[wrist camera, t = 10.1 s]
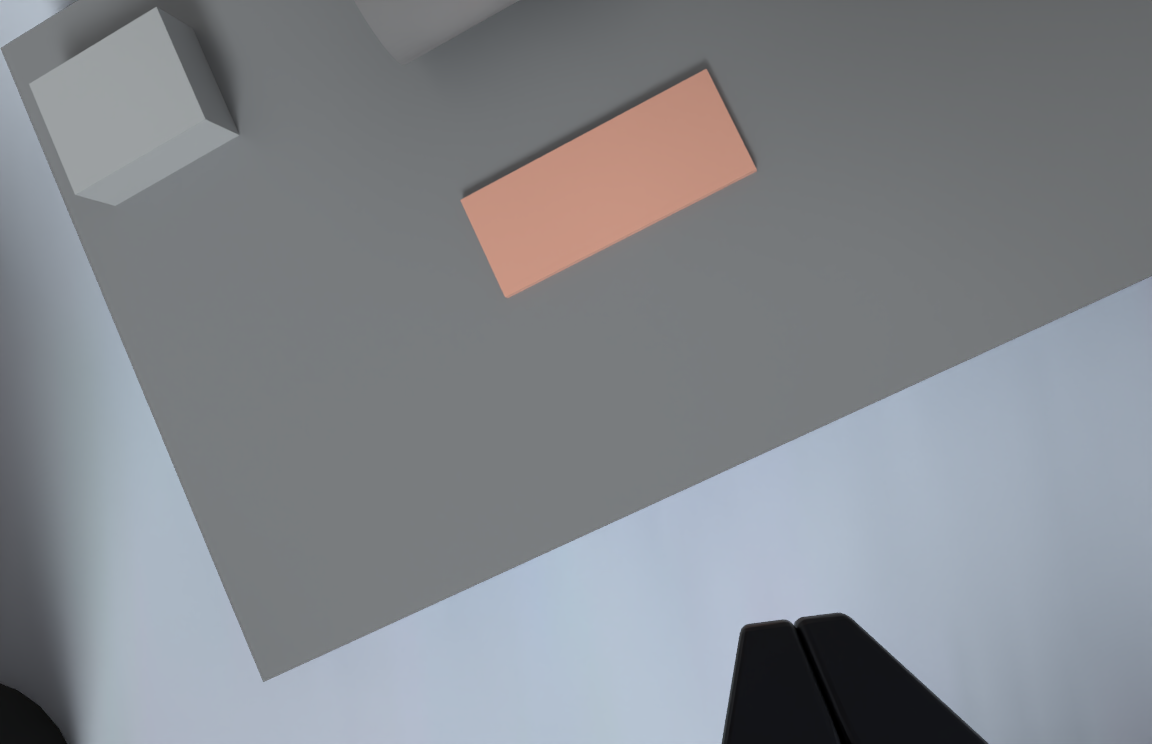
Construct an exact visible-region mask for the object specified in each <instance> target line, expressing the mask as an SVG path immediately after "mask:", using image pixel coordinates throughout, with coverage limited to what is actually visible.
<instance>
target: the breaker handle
mask: <svg viewBox="0 0 1152 744" xmlns="http://www.w3.org/2000/svg"><path fill="white" fill-rule="evenodd" d="M354 1H355V3H356V5H357V7H358V8H359V10H360V12H361V13H362V15H363V17H364V18H365V20H366V21H367V23H368V25H369V26H370V28H371V29H372V31H373V32H374V34H375V35H376V36H377V38H378V39H379V41H380V42H381V43H382V45H383V46H384V47H385V48H386V50H387V51H388V52H389V53H390V54H391V55H392V56H393V57H394V58H395V59H396V60H397V61H398V62H399V63H401V64H403V65H406V64H408V63H410V62H411V61H413V60H415V59H417V58H418V57H420V56H422V55H424V54H425V53H427V52H429V51H431V50H433V49H434V48H436V47H438V46H440V45H441V44H443V43H445V42H447V41H448V40H450V39H452V38H454V37H456V36H457V35H459V34H461V33H463V32H464V31H466V30H468V29H470V28H471V27H473V26H475V25H477V24H478V23H480V22H482V21H484V20H486V19H487V18H489V17H491V16H493V15H494V14H496V13H498V12H500V11H501V10H503V9H505V8H507V7H508V6H510V5H512V4H514V3H516V2H517V1H519V0H354Z"/></svg>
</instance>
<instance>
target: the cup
mask: <svg viewBox="0 0 1152 744" xmlns="http://www.w3.org/2000/svg"><path fill="white" fill-rule="evenodd" d="M0 744H67V743H66V741H65V740H64V738H63V736H62V734H61V732H60V730H59V728H58V727H57V726H56V725H55V724H54V723H53V721H52V720H51V719H50V718H49V717H48V716H47V714H46V713H45V712H44V711H43V710H42V709H41V707H40V706H38V705H37V704H35V703H34V702H33V701H31V700H30V699H28V698H27V697H26V696H24V695H23V694H22V693H20V692H19V691H17V690H15V689H12V688H10V687H7V686H5V685H2V684H0Z"/></svg>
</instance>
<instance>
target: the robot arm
mask: <svg viewBox="0 0 1152 744" xmlns="http://www.w3.org/2000/svg"><path fill="white" fill-rule="evenodd" d="M722 744H988V743H987V742H986V741H985V740H984V739H983V738H982V737H981V736H980V735H979V734H977V733H976V732H975V731H974V730H973V729H972V728H971V727H970V726H969V725H968V724H966V723H965V722H964V721H963V720H962V719H961V718H960V717H959V716H958V715H957V714H956V713H954V712H953V711H952V710H951V709H950V708H949V707H948V706H947V705H946V704H945V703H944V702H942V701H941V700H940V699H939V698H938V697H937V696H936V695H935V694H934V693H933V692H932V691H930V690H929V689H928V688H927V687H926V686H925V685H924V684H923V683H922V682H921V681H919V680H918V679H917V678H916V677H915V676H914V675H913V674H912V673H911V672H910V671H909V670H907V669H906V668H905V667H904V666H903V665H902V664H901V663H900V662H899V661H898V660H897V659H895V658H894V657H893V656H892V655H891V654H890V653H889V652H888V651H887V650H886V649H884V648H883V647H882V646H881V645H880V644H879V643H878V642H877V641H876V640H875V639H874V638H872V637H871V636H870V635H869V634H868V633H867V632H866V631H865V630H864V629H863V628H862V627H860V626H859V625H858V624H857V623H856V622H855V621H854V620H853V619H852V618H850V617H849V616H847V615H845V614H842V613H832V614H824V615H816V616H808V617H801V618H799V619H798V620H797V621H795V623H794V625H793V624H792V623H791V622H790V621H788V620H776V621H768V622H761V623H753V624H747V625H745V626H744V627H743V628H742V629H741V632H740V636H739V642H738V648H737V654H736V660H735V666H734V672H733V678H732V684H731V690H730V696H729V702H728V708H727V714H726V720H725V726H724V732H723V738H722Z"/></svg>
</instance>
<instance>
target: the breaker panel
mask: <svg viewBox="0 0 1152 744" xmlns="http://www.w3.org/2000/svg"><path fill="white" fill-rule="evenodd" d="M1 50H2V53H3V55H4V58H5V60H6V62H7V65H8V67H9V70H10V72H11V74H12V77H13V79H14V82H15V84H16V87H17V89H18V91H19V94H20V96H21V99H22V101H23V103H24V106H25V108H26V111H27V113H28V115H29V118H30V120H31V123H32V125H33V128H34V130H35V132H36V135H37V137H38V140H39V142H40V144H41V147H42V149H43V152H44V154H45V156H46V159H47V161H48V164H49V166H50V169H51V171H52V173H53V176H54V178H55V181H56V183H57V185H58V188H59V190H60V193H61V195H62V197H63V200H64V202H65V205H66V207H67V210H68V212H69V214H70V217H71V219H72V222H73V224H74V226H75V229H76V231H77V234H78V236H79V238H80V241H81V243H82V246H83V248H84V251H85V253H86V255H87V258H88V260H89V263H90V265H91V267H92V270H93V272H94V275H95V277H96V280H97V282H98V284H99V287H100V289H101V292H102V294H103V296H104V299H105V301H106V304H107V306H108V308H109V311H110V313H111V316H112V318H113V321H114V323H115V325H116V328H117V330H118V333H119V335H120V337H121V340H122V342H123V345H124V347H125V349H126V352H127V354H128V357H129V359H130V362H131V364H132V366H133V369H134V371H135V374H136V376H137V378H138V381H139V383H140V386H141V388H142V390H143V393H144V395H145V398H146V400H147V403H148V405H149V407H150V410H151V412H152V415H153V417H154V419H155V422H156V424H157V427H158V429H159V431H160V434H161V436H162V439H163V441H164V444H165V446H166V448H167V451H168V453H169V456H170V458H171V460H172V463H173V465H174V468H175V470H176V472H177V475H178V477H179V480H180V482H181V485H182V487H183V489H184V492H185V494H186V497H187V499H188V501H189V504H190V506H191V509H192V511H193V513H194V516H195V518H196V521H197V523H198V526H199V528H200V530H201V533H202V535H203V538H204V540H205V542H206V545H207V547H208V550H209V552H210V555H211V557H212V559H213V562H214V564H215V567H216V569H217V571H218V574H219V576H220V579H221V581H222V583H223V586H224V588H225V591H226V593H227V596H228V598H229V600H230V603H231V605H232V608H233V610H234V612H235V615H236V617H237V620H238V622H239V624H240V627H241V629H242V632H243V634H244V637H245V639H246V641H247V644H248V646H249V649H250V651H251V653H252V656H253V658H254V661H255V663H256V665H257V668H258V670H259V673H260V675H261V678H262V680H263V682H264V681H267V680H269V679H271V678H273V677H275V676H278V675H280V674H282V673H284V672H286V671H289V670H291V669H293V668H295V667H297V666H299V665H302V664H304V663H306V662H308V661H310V660H313V659H315V658H317V657H319V656H321V655H324V654H326V653H328V652H330V651H332V650H334V649H337V648H339V647H341V646H343V645H345V644H348V643H350V642H352V641H354V640H356V639H359V638H361V637H363V636H365V635H367V634H369V633H372V632H374V631H376V630H378V629H380V628H383V627H385V626H387V625H389V624H391V623H394V622H396V621H398V620H400V619H402V618H404V617H407V616H409V615H411V614H413V613H415V612H418V611H420V610H422V609H424V608H426V607H429V606H431V605H433V604H435V603H437V602H439V601H442V600H444V599H446V598H448V597H450V596H453V595H455V594H457V593H459V592H461V591H464V590H466V589H468V588H470V587H472V586H474V585H477V584H479V583H481V582H483V581H485V580H488V579H490V578H492V577H494V576H496V575H499V574H501V573H503V572H505V571H507V570H509V569H512V568H514V567H516V566H518V565H520V564H523V563H525V562H527V561H529V560H531V559H534V558H536V557H538V556H540V555H542V554H544V553H547V552H549V551H551V550H553V549H555V548H558V547H560V546H562V545H564V544H566V543H569V542H571V541H573V540H575V539H577V538H579V537H582V536H584V535H586V534H588V533H590V532H593V531H595V530H597V529H599V528H601V527H604V526H606V525H608V524H610V523H612V522H614V521H617V520H619V519H621V518H623V517H625V516H628V515H630V514H632V513H634V512H636V511H639V510H641V509H643V508H645V507H647V506H649V505H652V504H654V503H656V502H658V501H660V500H663V499H665V498H667V497H669V496H671V495H674V494H676V493H678V492H680V491H682V490H684V489H687V488H689V487H691V486H693V485H695V484H698V483H700V482H702V481H704V480H706V479H709V478H711V477H713V476H715V475H717V474H719V473H722V472H724V471H726V470H728V469H730V468H733V467H735V466H737V465H739V464H741V463H744V462H746V461H748V460H750V459H752V458H754V457H757V456H759V455H761V454H763V453H765V452H768V451H770V450H772V449H774V448H776V447H779V446H781V445H783V444H785V443H787V442H789V441H792V440H794V439H796V438H798V437H800V436H803V435H805V434H807V433H809V432H811V431H814V430H816V429H818V428H820V427H822V426H824V425H827V424H829V423H831V422H833V421H835V420H838V419H840V418H842V417H844V416H846V415H849V414H851V413H853V412H855V411H857V410H859V409H862V408H864V407H866V406H868V405H870V404H873V403H875V402H877V401H879V400H881V399H884V398H886V397H888V396H890V395H892V394H894V393H897V392H899V391H901V390H903V389H905V388H908V387H910V386H912V385H914V384H916V383H919V382H921V381H923V380H925V379H927V378H929V377H932V376H934V375H936V374H938V373H940V372H943V371H945V370H947V369H949V368H951V367H954V366H956V365H958V364H960V363H962V362H964V361H967V360H969V359H971V358H973V357H975V356H978V355H980V354H982V353H984V352H986V351H989V350H991V349H993V348H995V347H997V346H999V345H1002V344H1004V343H1006V342H1008V341H1010V340H1013V339H1015V338H1017V337H1019V336H1021V335H1024V334H1026V333H1028V332H1030V331H1032V330H1034V329H1037V328H1039V327H1041V326H1043V325H1045V324H1048V323H1050V322H1052V321H1054V320H1056V319H1059V318H1061V317H1063V316H1065V315H1067V314H1069V313H1072V312H1074V311H1076V310H1078V309H1080V308H1083V307H1085V306H1087V305H1089V304H1091V303H1094V302H1096V301H1098V300H1100V299H1102V298H1104V297H1107V296H1109V295H1111V294H1113V293H1115V292H1118V291H1120V290H1122V289H1124V288H1126V287H1129V286H1131V285H1133V284H1135V283H1137V282H1139V281H1142V280H1144V279H1146V278H1148V277H1150V276H1152V0H519V1H517V2H516V3H514V4H512V5H510V6H508V7H507V8H505V9H503V10H501V11H500V12H498V13H496V14H494V15H493V16H491V17H489V18H487V19H486V20H484V21H482V22H480V23H478V24H477V25H475V26H473V27H471V28H470V29H468V30H466V31H464V32H463V33H461V34H459V35H457V36H456V37H454V38H452V39H450V40H448V41H447V42H445V43H443V44H441V45H440V46H438V47H436V48H434V49H433V50H431V51H429V52H427V53H425V54H424V55H422V56H420V57H418V58H417V59H415V60H413V61H411V62H410V63H408V64H406V65H403V64H401V63H399V62H398V61H397V60H396V59H395V58H394V57H393V56H392V55H391V54H390V53H389V52H388V51H387V50H386V48H385V47H384V46H383V45H382V43H381V42H380V41H379V39H378V38H377V36H376V35H375V34H374V32H373V31H372V29H371V28H370V26H369V25H368V23H367V21H366V20H365V18H364V17H363V15H362V13H361V12H360V10H359V8H358V7H357V5H356V3H355V1H354V0H77V1H76V2H74V3H73V4H71V5H69V6H68V7H66V8H64V9H63V10H61V11H60V12H58V13H56V14H55V15H53V16H52V17H50V18H48V19H47V20H45V21H43V22H42V23H40V24H39V25H37V26H35V27H34V28H32V29H31V30H29V31H27V32H26V33H24V34H22V35H21V36H19V37H18V38H16V39H14V40H13V41H11V42H10V43H8V44H6V45H5V46H3V47H1Z"/></svg>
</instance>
